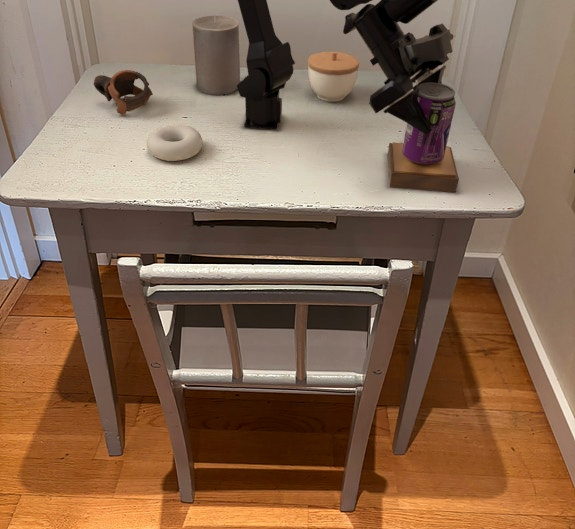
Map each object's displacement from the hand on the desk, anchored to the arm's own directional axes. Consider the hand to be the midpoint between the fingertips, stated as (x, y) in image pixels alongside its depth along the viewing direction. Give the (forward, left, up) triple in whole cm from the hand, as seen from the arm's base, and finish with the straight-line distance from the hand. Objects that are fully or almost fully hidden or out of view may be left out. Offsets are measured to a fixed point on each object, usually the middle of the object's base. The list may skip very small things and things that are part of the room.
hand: (437, 123), depth 92 cm
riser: (-1, +1, -10) cm, 10 cm away
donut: (-45, +2, -10) cm, 46 cm away
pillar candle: (-43, +32, -10) cm, 55 cm away
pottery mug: (-60, +19, -10) cm, 64 cm away
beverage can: (-1, +1, -7) cm, 7 cm away
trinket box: (-18, +31, -10) cm, 37 cm away
